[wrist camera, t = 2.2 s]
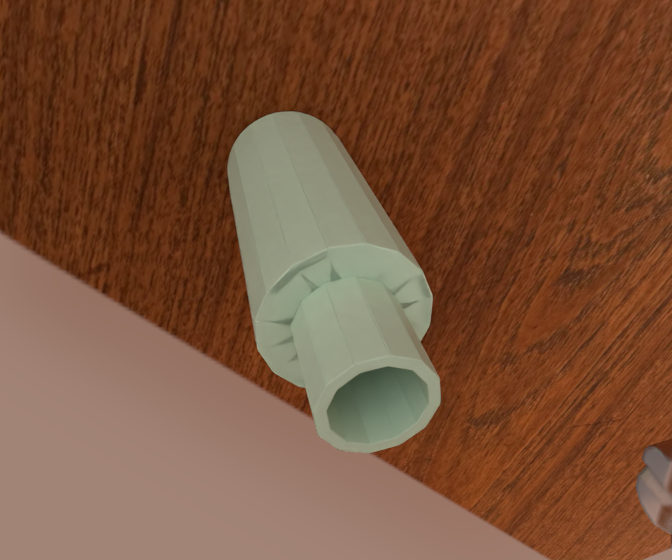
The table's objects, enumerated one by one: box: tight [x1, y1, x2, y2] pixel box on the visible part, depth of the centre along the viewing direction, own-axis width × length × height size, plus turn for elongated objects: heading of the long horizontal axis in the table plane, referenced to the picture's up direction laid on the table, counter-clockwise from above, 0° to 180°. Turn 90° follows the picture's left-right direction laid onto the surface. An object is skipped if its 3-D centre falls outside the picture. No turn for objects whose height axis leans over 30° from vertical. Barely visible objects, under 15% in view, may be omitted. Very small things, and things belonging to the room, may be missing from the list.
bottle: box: [227, 111, 441, 453], centre depth 18 cm, size 5×5×13 cm
